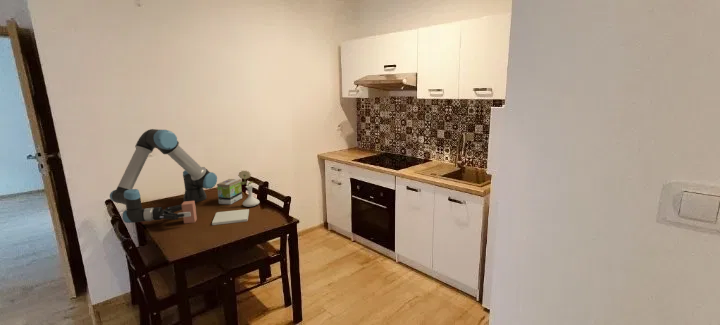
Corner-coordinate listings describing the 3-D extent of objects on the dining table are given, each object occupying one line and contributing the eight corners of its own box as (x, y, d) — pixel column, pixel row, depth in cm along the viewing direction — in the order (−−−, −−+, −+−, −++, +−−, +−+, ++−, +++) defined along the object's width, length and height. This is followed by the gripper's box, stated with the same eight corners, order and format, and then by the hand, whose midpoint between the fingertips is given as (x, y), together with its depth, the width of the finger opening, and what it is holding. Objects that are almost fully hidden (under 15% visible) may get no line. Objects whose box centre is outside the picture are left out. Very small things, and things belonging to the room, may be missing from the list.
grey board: (216, 214, 214) (216, 212, 214) (249, 211, 219) (249, 209, 219) (212, 225, 197) (211, 222, 197) (247, 221, 202) (247, 219, 202)
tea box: (231, 204, 232) (229, 184, 229) (218, 204, 234) (216, 184, 231) (242, 198, 246) (241, 178, 243) (230, 197, 248) (228, 178, 245)
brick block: (186, 219, 206) (183, 201, 203) (196, 218, 208) (194, 200, 205) (184, 223, 200) (181, 204, 198) (194, 222, 202) (192, 203, 199)
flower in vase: (262, 202, 235) (259, 168, 230) (255, 208, 224) (252, 172, 219) (244, 202, 237) (241, 168, 231) (237, 207, 225) (233, 172, 220)
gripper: (161, 212, 210) (197, 209, 215) (147, 228, 187) (188, 223, 192) (159, 201, 209) (196, 198, 214) (145, 215, 185) (187, 211, 190)
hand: (193, 210), depth 203 cm, fingers open, 13 cm apart
